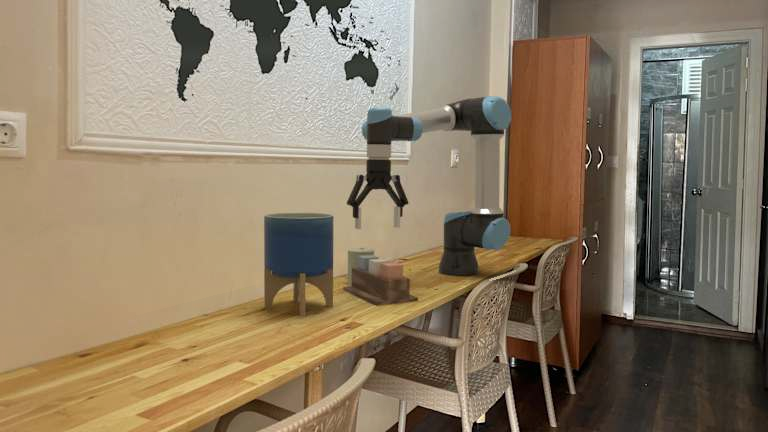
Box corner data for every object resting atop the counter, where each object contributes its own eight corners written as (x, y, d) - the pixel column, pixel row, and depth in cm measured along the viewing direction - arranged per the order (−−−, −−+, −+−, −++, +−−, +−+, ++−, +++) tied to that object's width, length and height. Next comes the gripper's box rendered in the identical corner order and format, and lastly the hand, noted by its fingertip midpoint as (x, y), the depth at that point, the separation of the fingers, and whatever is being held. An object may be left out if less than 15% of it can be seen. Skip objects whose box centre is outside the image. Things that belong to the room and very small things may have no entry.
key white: (382, 278, 194) (383, 258, 194) (390, 281, 190) (390, 260, 189) (368, 280, 192) (368, 259, 192) (375, 283, 188) (375, 262, 187)
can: (375, 281, 215) (375, 246, 214) (372, 286, 206) (372, 250, 205) (349, 280, 216) (349, 246, 215) (345, 285, 206) (345, 249, 205)
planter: (327, 298, 186) (328, 212, 184) (338, 314, 167) (338, 217, 165) (262, 301, 181) (262, 212, 179) (266, 317, 163) (265, 218, 160)
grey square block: (371, 274, 202) (371, 255, 201) (378, 277, 197) (378, 257, 197) (357, 275, 199) (357, 256, 199) (364, 278, 195) (364, 258, 194)
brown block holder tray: (381, 286, 205) (381, 265, 205) (418, 301, 184) (418, 277, 183) (343, 289, 199) (343, 268, 198) (376, 305, 178) (376, 281, 177)
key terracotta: (394, 283, 187) (395, 262, 187) (402, 286, 183) (403, 264, 182) (380, 284, 185) (380, 263, 185) (387, 287, 181) (388, 266, 180)
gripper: (408, 159, 197) (407, 225, 199) (336, 158, 186) (335, 228, 188) (420, 159, 191) (418, 228, 192) (346, 158, 179) (345, 230, 181)
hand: (377, 228), depth 190 cm, fingers open, 13 cm apart
